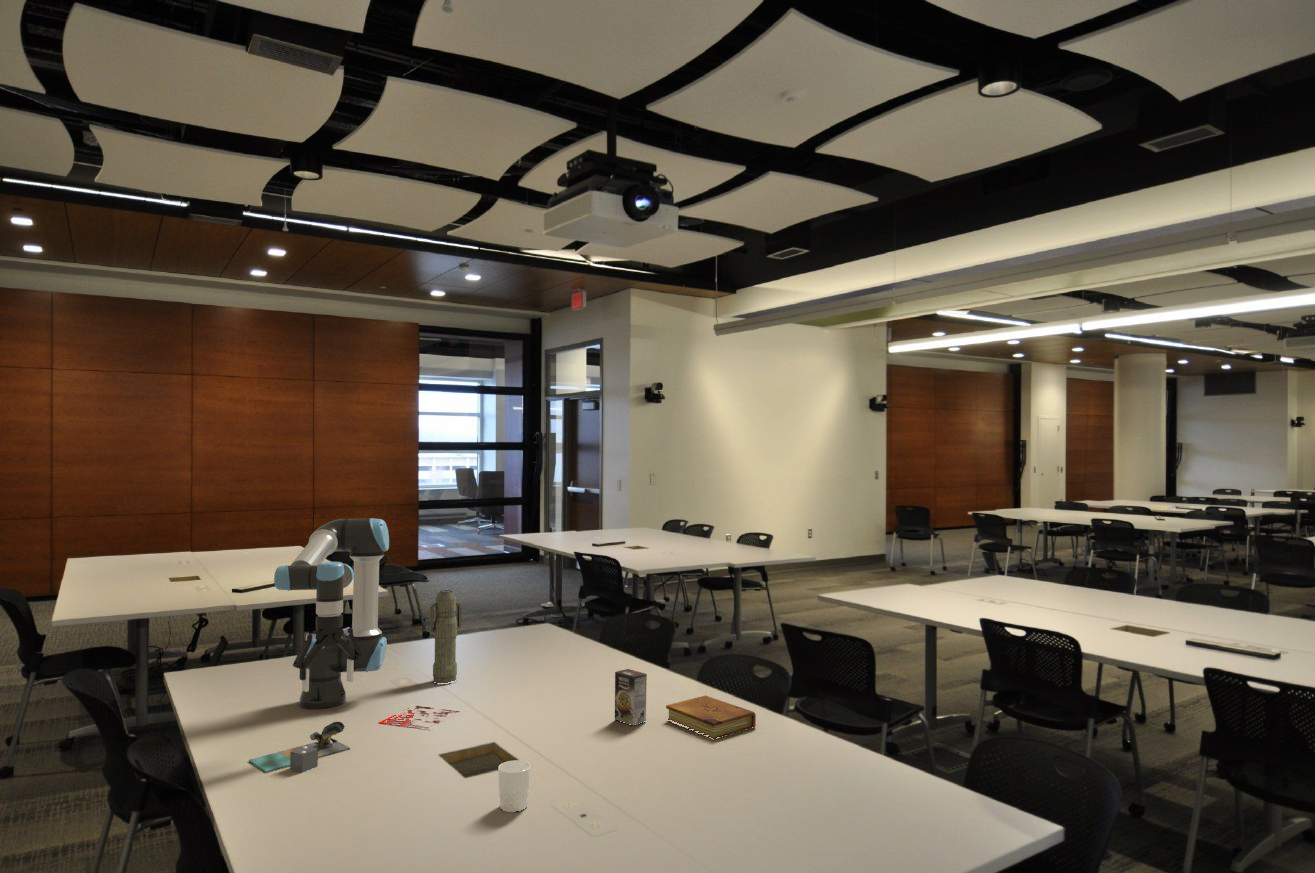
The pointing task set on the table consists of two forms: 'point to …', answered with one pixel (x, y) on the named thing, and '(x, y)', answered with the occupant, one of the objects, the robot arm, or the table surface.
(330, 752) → the track board
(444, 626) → the thermos
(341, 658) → the robot arm
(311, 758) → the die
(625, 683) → the coffee box
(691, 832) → the table surface
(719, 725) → the diary
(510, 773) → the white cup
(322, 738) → the dark olive curved figure
